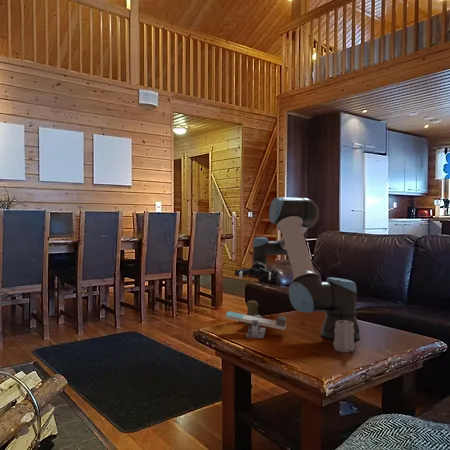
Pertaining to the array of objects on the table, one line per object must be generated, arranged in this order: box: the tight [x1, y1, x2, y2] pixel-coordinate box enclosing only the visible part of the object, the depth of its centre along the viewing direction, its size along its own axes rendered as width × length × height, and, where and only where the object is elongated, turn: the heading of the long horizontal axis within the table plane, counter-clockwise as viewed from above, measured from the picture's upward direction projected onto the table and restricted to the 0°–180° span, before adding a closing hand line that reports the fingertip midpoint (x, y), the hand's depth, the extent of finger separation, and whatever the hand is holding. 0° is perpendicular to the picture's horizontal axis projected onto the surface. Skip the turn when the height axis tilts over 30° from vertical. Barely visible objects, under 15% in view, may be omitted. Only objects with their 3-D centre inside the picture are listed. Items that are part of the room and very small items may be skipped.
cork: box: [245, 300, 259, 328], centre depth 186 cm, size 6×6×11 cm
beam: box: [225, 311, 287, 331], centre depth 174 cm, size 24×7×4 cm, turn 80°
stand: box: [245, 314, 267, 339], centre depth 174 cm, size 7×12×7 cm, turn 170°
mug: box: [332, 320, 356, 353], centre depth 153 cm, size 8×12×12 cm, turn 169°
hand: (254, 276), depth 195 cm, fingers open, 13 cm apart
